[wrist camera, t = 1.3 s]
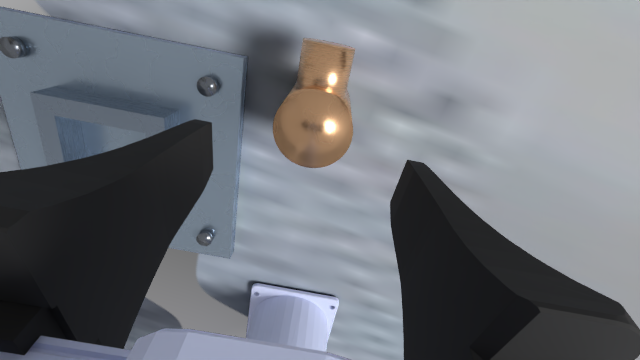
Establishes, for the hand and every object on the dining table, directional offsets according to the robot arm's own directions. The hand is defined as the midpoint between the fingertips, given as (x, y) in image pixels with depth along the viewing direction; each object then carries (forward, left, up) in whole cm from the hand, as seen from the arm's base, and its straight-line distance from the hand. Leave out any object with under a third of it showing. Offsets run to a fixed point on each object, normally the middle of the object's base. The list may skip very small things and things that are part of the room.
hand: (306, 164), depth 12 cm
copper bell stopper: (0, 0, -10) cm, 10 cm away
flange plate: (-6, +13, -10) cm, 18 cm away
